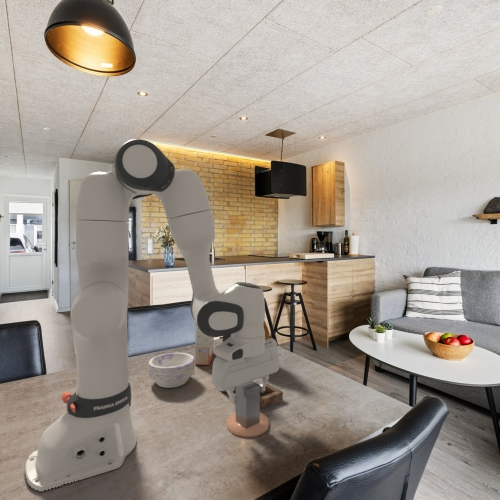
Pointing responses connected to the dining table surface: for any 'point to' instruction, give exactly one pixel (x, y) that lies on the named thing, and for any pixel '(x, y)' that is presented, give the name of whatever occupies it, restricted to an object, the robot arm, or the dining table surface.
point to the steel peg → (248, 404)
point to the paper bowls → (171, 369)
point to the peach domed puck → (249, 432)
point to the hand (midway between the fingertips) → (247, 396)
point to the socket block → (270, 396)
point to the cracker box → (203, 347)
